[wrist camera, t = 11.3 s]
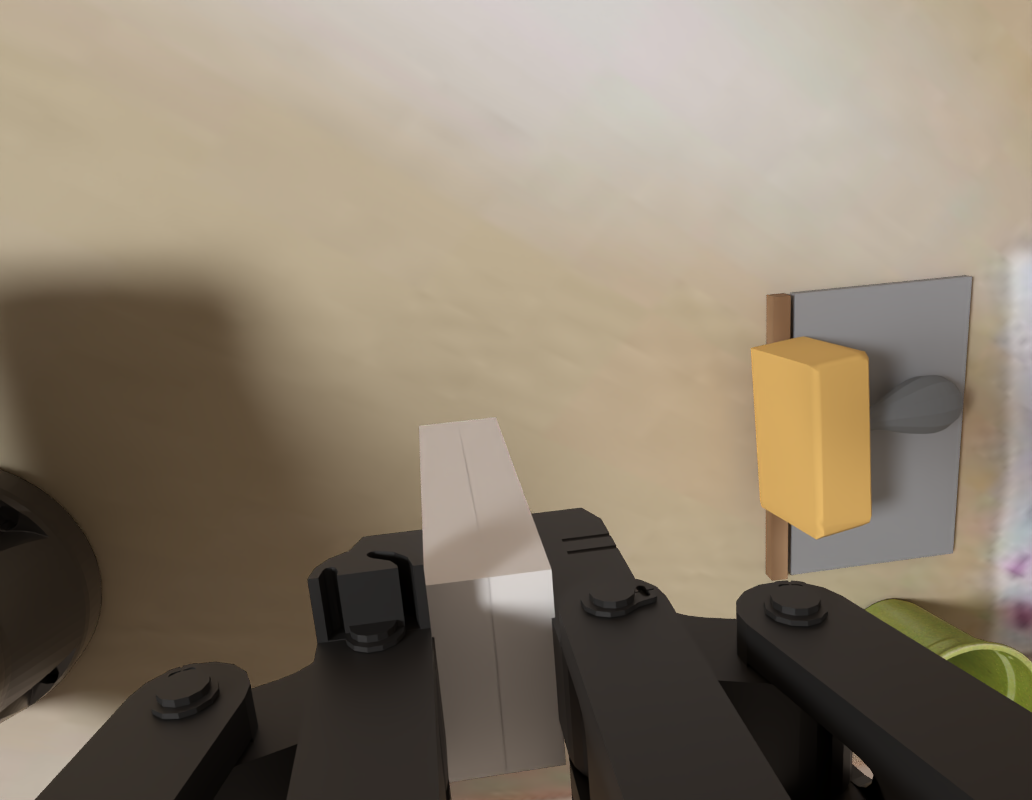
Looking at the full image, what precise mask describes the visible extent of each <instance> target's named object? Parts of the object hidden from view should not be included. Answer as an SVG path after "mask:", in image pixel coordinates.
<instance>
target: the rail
mask: <svg viewBox="0 0 1032 800" xmlns="http://www.w3.org/2000/svg"><path fill="white" fill-rule="evenodd" d="M790 310H791V296H790V295H787V294H784V293H782V294H771V295H767V344H771V343H775V342H779V341H784V340H788V339H790ZM766 574H767V575H768V577H769V578H770V579H771V580H772V581H774V580H782V579H787V578H788V522H786V521H785V520H783V519H781V518H780V517H778V516H776V515H775V514H773V513H771V512H770V511H768V510H766Z"/></svg>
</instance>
